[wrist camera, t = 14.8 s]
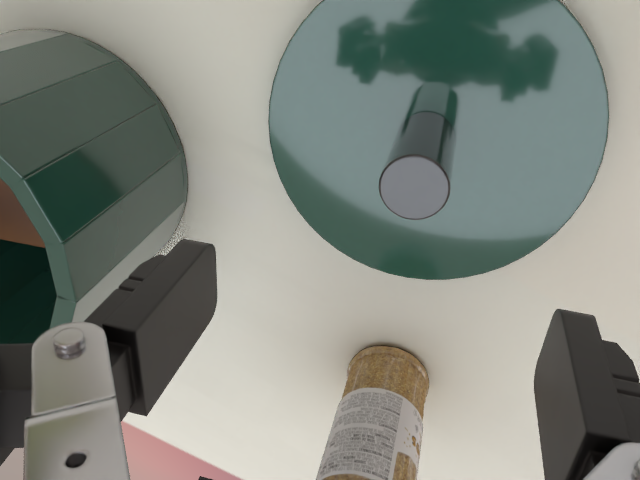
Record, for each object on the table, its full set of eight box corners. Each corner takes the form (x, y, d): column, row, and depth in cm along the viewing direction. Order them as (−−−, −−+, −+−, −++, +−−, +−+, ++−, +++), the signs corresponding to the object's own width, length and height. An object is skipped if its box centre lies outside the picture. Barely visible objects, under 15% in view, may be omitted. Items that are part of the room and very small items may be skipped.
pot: (-24, -22, 26) (-253, 4, 18) (220, 110, 26) (104, 194, 18) (-42, 195, 32) (-213, 285, 24) (153, 298, 33) (45, 421, 25)
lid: (357, -117, 20) (316, -131, 15) (687, 62, 21) (756, 109, 15) (235, 183, 28) (178, 243, 22) (479, 313, 28) (479, 402, 23)
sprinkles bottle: (425, 411, 32) (394, 685, 20) (345, 396, 33) (273, 649, 21) (435, 349, 30) (407, 617, 18) (349, 334, 30) (271, 580, 19)
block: (21, 111, 28) (-53, 141, 24) (104, 123, 27) (42, 157, 23) (39, 194, 30) (-26, 234, 26) (116, 208, 30) (61, 252, 26)
